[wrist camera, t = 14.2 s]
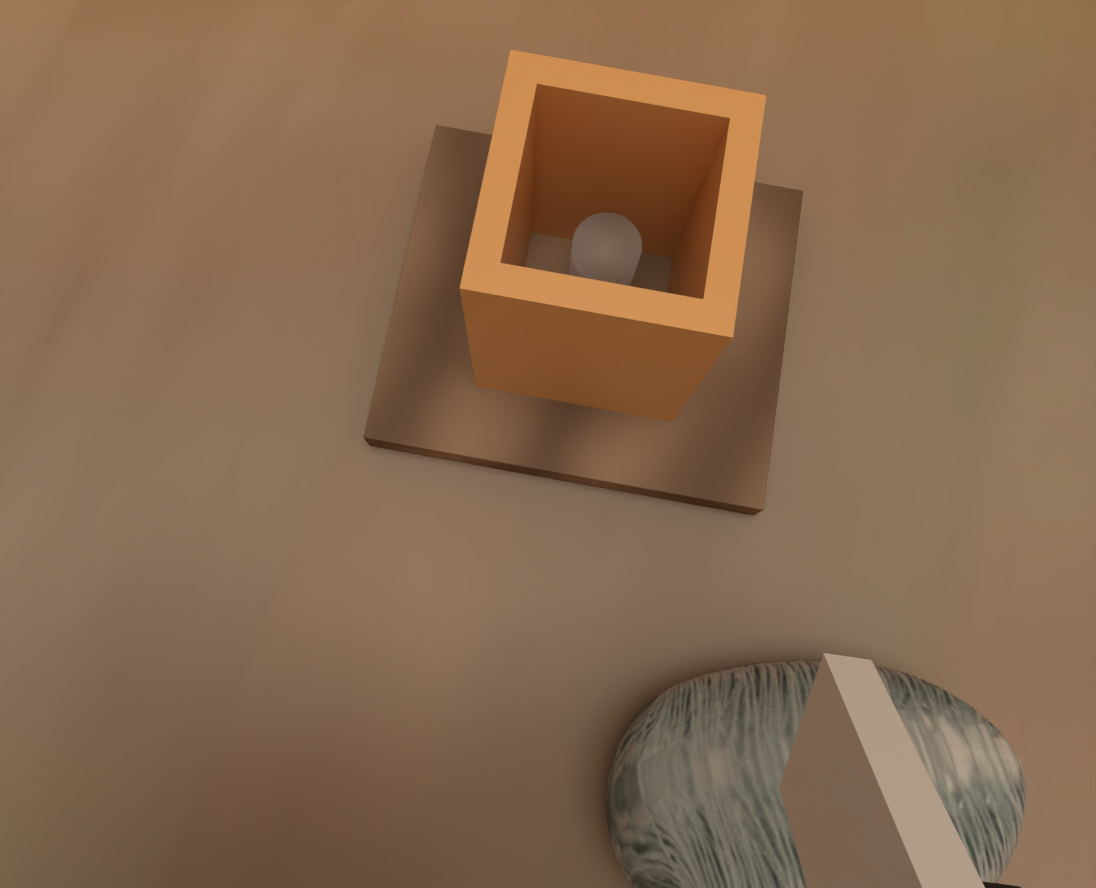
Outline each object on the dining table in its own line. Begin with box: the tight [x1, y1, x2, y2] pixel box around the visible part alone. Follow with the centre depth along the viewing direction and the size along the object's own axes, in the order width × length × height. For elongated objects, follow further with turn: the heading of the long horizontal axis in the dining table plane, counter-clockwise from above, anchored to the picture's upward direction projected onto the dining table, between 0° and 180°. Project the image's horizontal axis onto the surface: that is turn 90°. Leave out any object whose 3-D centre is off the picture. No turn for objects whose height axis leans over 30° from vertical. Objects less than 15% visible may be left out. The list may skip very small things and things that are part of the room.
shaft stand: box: [364, 125, 803, 515], centre depth 33 cm, size 16×14×8 cm
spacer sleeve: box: [460, 50, 766, 422], centre depth 31 cm, size 8×8×10 cm
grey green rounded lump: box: [606, 660, 1026, 888], centre depth 30 cm, size 14×10×10 cm
